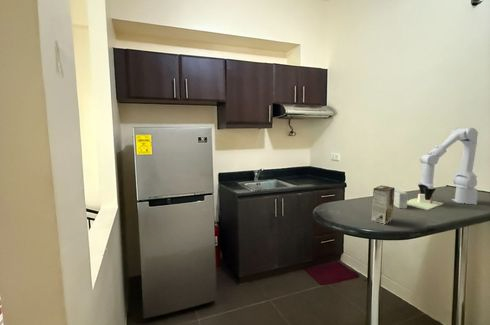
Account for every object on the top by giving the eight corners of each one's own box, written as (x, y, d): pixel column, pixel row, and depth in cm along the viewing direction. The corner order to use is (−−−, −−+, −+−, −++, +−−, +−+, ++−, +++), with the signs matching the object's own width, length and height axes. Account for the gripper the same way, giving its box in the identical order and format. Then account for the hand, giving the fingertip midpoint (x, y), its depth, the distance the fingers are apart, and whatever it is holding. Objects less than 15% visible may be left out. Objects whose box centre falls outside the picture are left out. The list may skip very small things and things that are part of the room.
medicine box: (407, 208, 139) (408, 193, 138) (398, 208, 140) (400, 193, 138) (398, 204, 147) (399, 189, 146) (390, 204, 147) (392, 189, 146)
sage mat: (416, 198, 159) (416, 197, 159) (443, 204, 148) (443, 203, 148) (400, 203, 149) (400, 202, 149) (428, 210, 137) (428, 209, 137)
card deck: (417, 201, 152) (418, 193, 151) (430, 202, 150) (431, 194, 149) (419, 202, 149) (419, 195, 148) (432, 203, 147) (432, 195, 146)
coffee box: (378, 216, 127) (380, 185, 125) (392, 220, 122) (395, 187, 120) (370, 221, 121) (373, 187, 119) (385, 225, 116) (387, 190, 114)
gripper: (415, 172, 155) (413, 194, 157) (423, 177, 142) (421, 200, 144) (429, 173, 153) (427, 195, 155) (438, 177, 139) (436, 202, 141)
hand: (425, 198), depth 149 cm, fingers open, 7 cm apart
